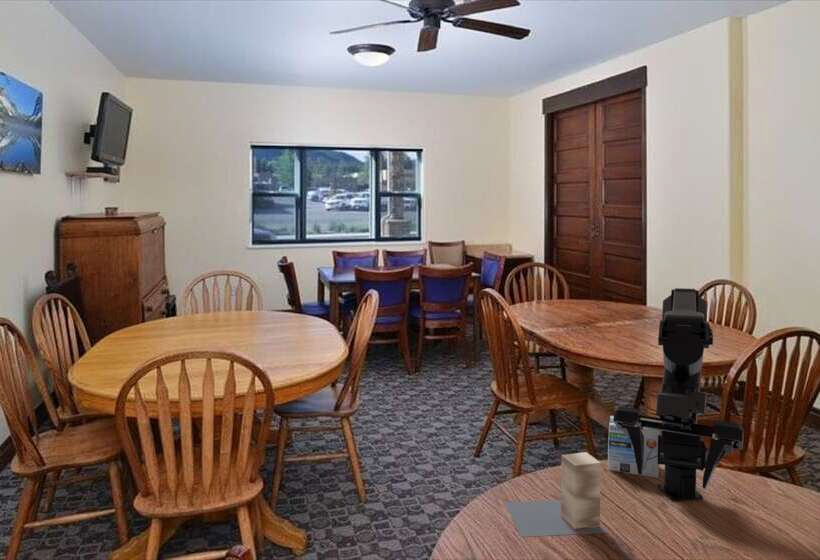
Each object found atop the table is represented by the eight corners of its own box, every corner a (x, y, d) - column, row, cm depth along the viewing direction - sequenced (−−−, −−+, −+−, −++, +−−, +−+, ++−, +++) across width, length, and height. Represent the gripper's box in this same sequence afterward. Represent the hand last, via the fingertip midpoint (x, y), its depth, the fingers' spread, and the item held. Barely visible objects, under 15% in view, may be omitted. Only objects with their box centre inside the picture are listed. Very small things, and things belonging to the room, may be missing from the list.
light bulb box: (607, 472, 132) (608, 424, 131) (608, 460, 138) (609, 414, 137) (660, 478, 128) (661, 429, 127) (658, 465, 134) (659, 419, 133)
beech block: (585, 513, 112) (586, 452, 111) (599, 526, 107) (600, 462, 106) (561, 517, 111) (561, 455, 110) (574, 530, 106) (575, 465, 105)
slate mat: (504, 504, 118) (504, 502, 117) (581, 500, 118) (581, 498, 118) (520, 539, 105) (520, 537, 105) (607, 534, 106) (607, 532, 106)
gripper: (614, 362, 97) (600, 458, 92) (745, 377, 88) (739, 485, 82) (624, 383, 106) (612, 472, 100) (745, 399, 96) (739, 498, 91)
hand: (671, 481), depth 93 cm, fingers open, 9 cm apart
